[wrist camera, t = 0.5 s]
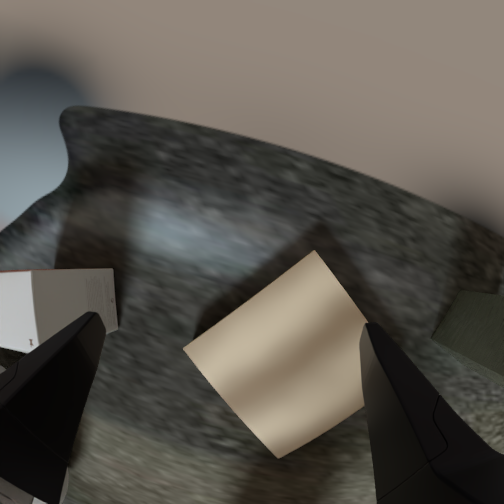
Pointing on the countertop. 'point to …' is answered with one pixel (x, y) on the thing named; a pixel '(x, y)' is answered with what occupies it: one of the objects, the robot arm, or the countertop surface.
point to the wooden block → (288, 357)
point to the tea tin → (475, 333)
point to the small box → (51, 303)
